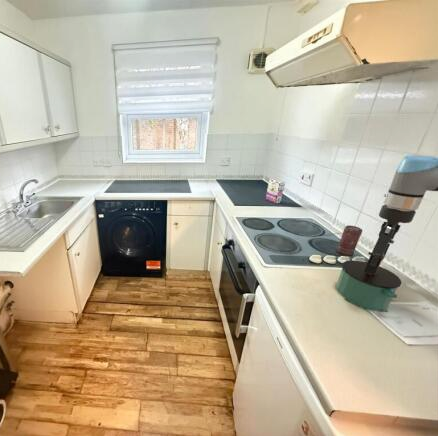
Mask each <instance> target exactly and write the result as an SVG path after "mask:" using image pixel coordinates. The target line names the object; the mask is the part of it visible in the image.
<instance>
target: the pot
mask: <svg viewBox="0 0 438 436" xmlns="http://www.w3.org/2000/svg"><path fill="white" fill-rule="evenodd" d="M345 261H351V259H350V260H349V259H346V260H345ZM335 289H336V291H337V292H338V293H339V294H340V295H341V297H343V299H344V300H346V301H347V302H349V303H350V304H353V305H355V306H357V307H360V308H362V309H365V310H371V311H378V310H379V311H385V310H386V309H388V308H389V306H390V303H391V302H392V300H393V299H397V298H398V295H397V294H396V292H397V290H398V288H395V289H386V288H380V287H375V286H372V285H368V284H366V283H363V282H360V281H358V280H356V279H354V278H353V277H351V276H349V275H348V274H347V273H346V272H345V271H344V270H343V269H342V268H341V271H340V273H339V277H338V279H337V282H336V284H335ZM384 309H385V310H384Z"/></svg>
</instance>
